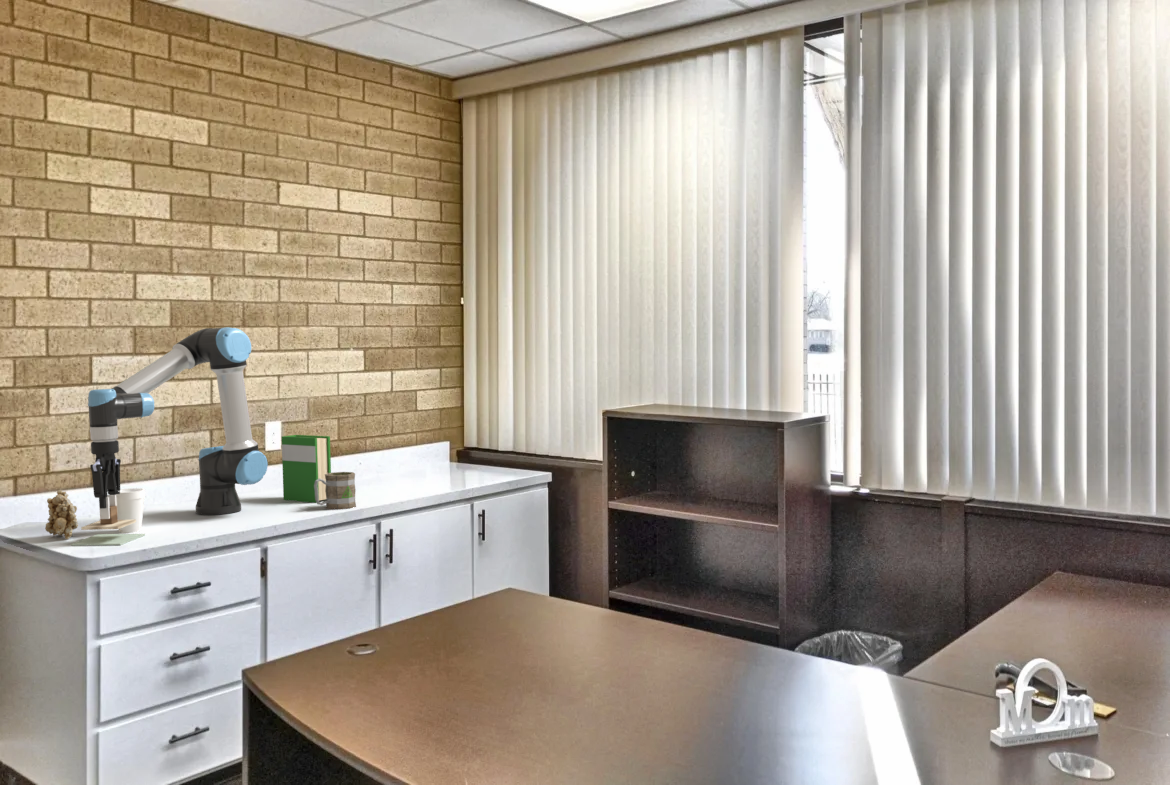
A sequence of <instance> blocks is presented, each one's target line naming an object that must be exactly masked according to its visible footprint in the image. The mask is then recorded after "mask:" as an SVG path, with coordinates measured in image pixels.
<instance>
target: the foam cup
mask: <svg viewBox="0 0 1170 785" xmlns="http://www.w3.org/2000/svg"><path fill="white" fill-rule="evenodd" d="M118 492H120V494H116V500H117V517H118V520H132V519H136V522H135V523H132V524H130V525H127V526H125V527H122V528H120V529H118V532H119V534H134V533H137V532H140V531H142V527H143V516H144V505H145V497H146V489H145V488H143V487H142V488H141V487H140V488H139V487H138V488H137V487H136V488H135V487H131V488H120V491H118Z"/></svg>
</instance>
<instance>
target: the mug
mask: <svg viewBox="0 0 1170 785" xmlns="http://www.w3.org/2000/svg"><path fill="white" fill-rule="evenodd" d="M355 477H356V473H355V472H353V471H352V472H351V471H338V472H337V471H335V472H331V473H328V474H325V479H326V482H325V481H324V480H323V479H320V478H319V479H317V480H316V481H315V483H314V490H315V500H316V502H317V503H316V505H319V506H323V505H325V509H327V510H335V511H336V510H337V511H338V510H347V509H348V510H350V509H354V508H357V505H356V504H357V502H356V483H355V481H356V479H355ZM319 481H321V482H322V483H324V484H325V485H326V489H325V492H326V500H323V501H322V502H320V500H319V497H318V487H317V485H318V482H319ZM353 507H354V508H353Z"/></svg>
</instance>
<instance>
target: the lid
mask: <svg viewBox="0 0 1170 785" xmlns="http://www.w3.org/2000/svg"><path fill="white" fill-rule="evenodd" d="M135 522H136V519H132V520H118V517H117V506H110V519H100V518H99V520H97V521H95V522H93V523H88V524H87V525H86V524H85V525H84V526H82V527H80V528H81V530H82V531H88V530H89V531H91V530H92V531H93V530H94V531H96V530H97V531H98V530H100V531H101V530H102V531H103V530H119V529H120V528H122V527H125V526H127V525H130V524H132V523H135Z"/></svg>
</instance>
